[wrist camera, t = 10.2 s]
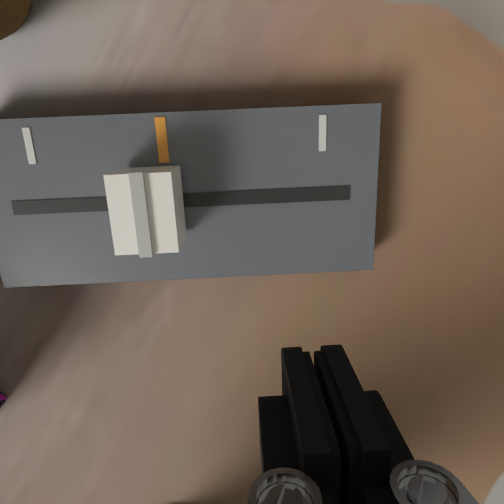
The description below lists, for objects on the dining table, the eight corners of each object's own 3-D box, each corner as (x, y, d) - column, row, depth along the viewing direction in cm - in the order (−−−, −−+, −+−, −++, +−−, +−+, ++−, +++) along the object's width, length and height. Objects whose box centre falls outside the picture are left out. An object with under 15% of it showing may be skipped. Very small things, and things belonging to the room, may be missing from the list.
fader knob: (186, 237, 30) (178, 255, 26) (131, 239, 30) (113, 259, 26) (179, 163, 28) (169, 171, 24) (121, 166, 28) (100, 174, 24)
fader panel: (362, 257, 34) (373, 270, 31) (23, 273, 34) (2, 288, 31) (368, 104, 31) (382, 102, 28) (-11, 120, 30) (-38, 120, 27)
